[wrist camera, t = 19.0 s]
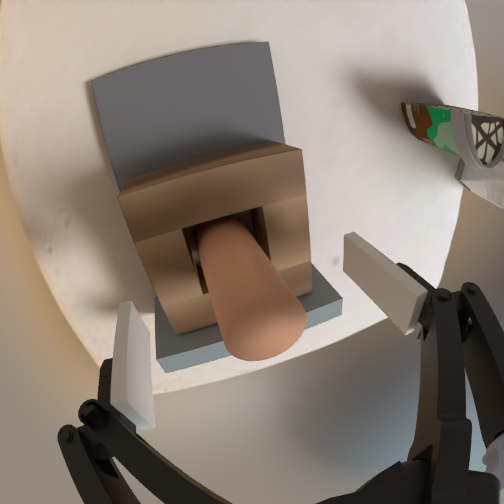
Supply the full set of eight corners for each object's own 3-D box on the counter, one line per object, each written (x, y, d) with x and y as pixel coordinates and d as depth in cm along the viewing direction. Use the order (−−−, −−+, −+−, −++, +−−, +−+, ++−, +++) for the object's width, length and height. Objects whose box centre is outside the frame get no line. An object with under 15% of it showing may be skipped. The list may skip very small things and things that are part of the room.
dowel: (187, 215, 21) (213, 314, 11) (236, 201, 22) (304, 284, 11) (200, 258, 23) (234, 370, 13) (245, 244, 24) (308, 343, 13)
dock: (83, 86, 15) (43, 75, 9) (275, 43, 18) (323, 19, 11) (161, 313, 27) (165, 373, 20) (303, 268, 30) (341, 314, 23)
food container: (395, 155, 26) (465, 181, 18) (392, 102, 23) (468, 114, 15) (451, 147, 28) (508, 168, 20) (450, 105, 25) (510, 119, 17)
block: (128, 179, 19) (117, 197, 15) (274, 141, 21) (301, 149, 17) (172, 298, 25) (176, 335, 21) (289, 262, 27) (312, 291, 23)
